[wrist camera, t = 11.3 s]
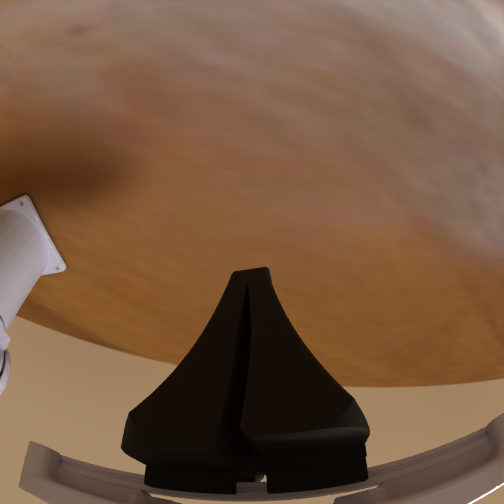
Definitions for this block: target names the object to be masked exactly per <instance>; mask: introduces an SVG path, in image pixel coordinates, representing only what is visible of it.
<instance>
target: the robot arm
mask: <svg viewBox="0 0 504 504" xmlns="http://www.w3.org/2000/svg"><path fill="white" fill-rule="evenodd" d="M22 202H23V203H22ZM65 269H66V264H65V263H64V261H63V259H62V258H61V256H60V254H59V253H58V251H57V249H56V247H55V246H54V244H53V242H52V240H51V238H50V236H49V235H48V233H47V231H46V229H45V227H44V225H43V223H42V221H41V219H40V217H39V215H38V213H37V211H36V209H35V207H34V205H33V203H32V201H31V199H30V197H29V196H28V195H24V196H21V197H19V198H17V199H15V200H13V201H11V202H9V203H7V204H5V205H3V206H1V207H0V395H1V393H2V392H3V390H4V388H5V386H6V384H7V381H8V378H9V374H10V364H11V360H10V354H9V352H8V350H7V349H6V348H7V346H8V344H9V342H10V340H11V339H10V338H9V336H8V335H7V333H6V331H7V329H8V327H9V326H10V324H11V322H12V321H13V319H14V317H15V315H16V314H17V312H18V310H19V309H20V307H21V305H22V304H23V302H24V300H25V299H26V297H27V296H28V294H29V292H30V291H31V289H32V288H33V286H34V285H35V283H36V282H37V280H38V279H39V277H40V276H41V275H46V274H52V273H57V272H63V271H65ZM369 435H370V429H369V426H368V423H367V420H366V418H365V416H364V414H363V412H362V411H361V409H360V407H359V406H358V404H357V402H356V401H355V399H354V398H353V397H352V396H351V395H350V394H349V393H348V392H347V391H346V390H345V389H344V388H343V387H342V386H341V385H340V384H339V383H338V382H337V381H336V380H335V379H334V378H333V377H332V376H331V375H330V374H329V373H328V372H327V371H326V370H325V369H324V367H323V366H322V365H321V364H320V363H319V361H318V360H317V359H316V358H315V357H314V355H313V354H312V353H311V352H310V350H309V349H308V348H307V346H306V345H305V344H304V342H303V341H302V339H301V338H300V337H299V335H298V334H297V332H296V331H295V329H294V327H293V326H292V324H291V322H290V321H289V319H288V317H287V316H286V314H285V312H284V310H283V308H282V306H281V304H280V302H279V300H278V298H277V295H276V293H275V291H274V288H273V285H272V280H271V276H270V271H269V269H268V268H267V267H261V268H255V269H248V270H241V271H234V272H233V273H232V275H231V277H230V280H229V282H228V285H227V287H226V289H225V291H224V293H223V296H222V298H221V300H220V302H219V304H218V306H217V308H216V310H215V312H214V313H213V315H212V317H211V319H210V320H209V322H208V324H207V326H206V327H205V329H204V331H203V332H202V334H201V335H200V337H199V338H198V340H197V341H196V343H195V344H194V346H193V347H192V348H191V350H190V351H189V353H188V354H187V355H186V356H185V358H184V359H183V360H182V361H181V363H180V364H179V365H178V366H177V368H176V369H175V370H174V371H173V372H172V373H171V374H170V375H169V377H168V378H167V379H166V380H165V381H164V382H163V383H162V384H161V385H160V386H159V387H158V388H157V389H156V390H155V391H154V392H153V393H152V394H150V396H148V397H147V398H146V399H145V400H143V401H142V402H141V403H140V404H139V405H138V406H137V407H135V408H134V409H133V410H131V411H130V412H129V414H128V417H127V420H126V424H125V428H124V434H123V438H122V444H121V449H122V450H123V451H124V453H126V454H127V455H128V456H130V457H132V458H134V459H136V460H137V461H139V462H141V463H143V464H145V465H146V470H145V475H141V474H135V473H129V472H124V471H119V470H115V469H110V468H106V467H101V466H98V465H94V464H90V463H86V462H82V461H79V460H75V459H72V458H69V457H66V456H62V455H60V454H59V453H57V452H56V451H54V450H52V449H50V448H48V447H46V446H43V445H41V444H38V443H35V442H33V441H30V442H29V445H28V449H27V453H26V457H25V460H24V464H23V469H22V473H21V477H20V482H19V487H20V488H21V489H23V490H25V491H27V492H29V493H30V494H32V495H34V496H36V497H38V498H39V499H41V500H43V501H45V502H47V503H49V504H180V503H177V502H174V501H171V500H166V499H161V498H156V497H152V496H151V495H150V494H149V493H151V494H157V495H164V496H171V497H179V498H187V499H198V500H212V501H213V500H214V501H275V500H276V501H278V500H292V499H302V498H310V497H319V496H326V495H333V494H339V493H344V492H350V491H355V490H360V489H364V488H369V487H373V486H377V485H379V486H378V487H377V488H374V489H370V490H366V491H362V492H358V493H354V494H350V495H346V496H342V497H337V498H336V499H335V500H334V503H333V504H471V503H473V502H475V501H477V500H479V499H480V498H482V497H484V496H485V495H487V494H489V493H491V492H492V491H494V490H495V489H497V488H499V487H500V486H502V485H504V413H503V414H501V415H500V416H498V417H497V418H495V419H494V420H492V421H491V422H490V423H489V424H488V425H487V426H486V427H484V428H482V429H480V430H478V431H476V432H474V433H471V434H469V435H467V436H465V437H462V438H460V439H458V440H455V441H453V442H450V443H448V444H445V445H442V446H440V447H437V448H434V449H432V450H429V451H426V452H423V453H420V454H417V455H414V456H411V457H407V458H404V459H401V460H397V461H394V462H390V463H386V464H382V465H378V466H374V467H370V468H367V463H366V456H367V453H366V447H365V443H366V441H367V439H368V437H369ZM264 474H265V475H266V476H267V482H260V481H261V480H262V479H263V478H264Z"/></svg>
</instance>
